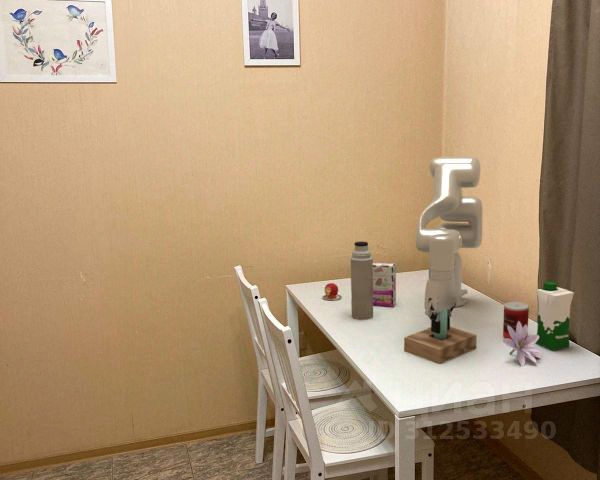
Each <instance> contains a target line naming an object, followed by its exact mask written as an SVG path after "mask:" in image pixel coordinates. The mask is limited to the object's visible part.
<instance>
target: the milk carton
mask: <svg viewBox="0 0 600 480" xmlns="http://www.w3.org/2000/svg"><path fill="white" fill-rule="evenodd" d="M536 294H537V301H538V308H537V309H538V312H537V313H538V314H537V331H536V335H538V336H539V339H538V340H537V341H536V342H535V345H538V346H540V347H542V348H545V349H548V350H550V351H552V352H553V351H554V352H555V351H557V350H562V349H566V348H570V332H569V331H570V320H571V319H570V316H571V304H572V301H573V298H574V294H575V292H574V291H570V290H568V289H565V288H561V287H558V282H556V281H544V282H543V287H542V288H537V289H536Z"/></svg>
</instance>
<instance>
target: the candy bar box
mask: <svg viewBox="0 0 600 480" xmlns="http://www.w3.org/2000/svg"><path fill="white" fill-rule="evenodd" d="M396 265H397V264H396V263H388V262H374V261H373V307H374V306H375V307H385V308H387V307H388V308H394V307H395V306H396V305H397V278H396V277H397V271H396V269H397V268H396V267H397V266H396Z"/></svg>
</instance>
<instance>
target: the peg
mask: <svg viewBox="0 0 600 480" xmlns="http://www.w3.org/2000/svg"><path fill="white" fill-rule="evenodd" d="M434 315H435V316H436V313H434ZM439 321H440V333H439V334H437V333H434V338H436V339H439V340H444V339H447V309H446V310H443V311H441V312H440V317H439Z"/></svg>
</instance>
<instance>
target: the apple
mask: <svg viewBox="0 0 600 480" xmlns="http://www.w3.org/2000/svg"><path fill="white" fill-rule="evenodd" d="M338 292H339V287H338V285H337V284H336V283H334V282H331V283H327V284H325V287H324V293H325V294H324V295H323V296H321V297H322V299H323V300H327V301H337V300H340V299H342V297H343V296H342V295H340V294H338Z"/></svg>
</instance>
